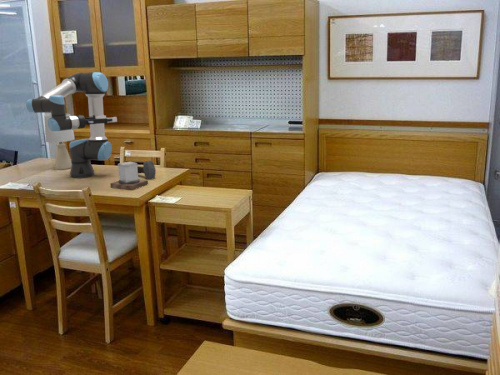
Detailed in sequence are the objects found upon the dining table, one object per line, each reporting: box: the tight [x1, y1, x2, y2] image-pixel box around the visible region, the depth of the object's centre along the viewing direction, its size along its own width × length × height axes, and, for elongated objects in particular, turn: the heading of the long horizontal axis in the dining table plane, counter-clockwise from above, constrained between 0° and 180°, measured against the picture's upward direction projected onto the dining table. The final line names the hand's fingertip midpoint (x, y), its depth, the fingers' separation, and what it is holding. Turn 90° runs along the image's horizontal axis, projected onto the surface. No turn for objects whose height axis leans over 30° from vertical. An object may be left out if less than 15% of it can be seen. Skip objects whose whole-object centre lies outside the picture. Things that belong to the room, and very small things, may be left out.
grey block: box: [117, 161, 139, 183], centre depth 287 cm, size 8×8×10 cm
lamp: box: [43, 112, 76, 171], centre depth 339 cm, size 19×19×37 cm
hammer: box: [137, 160, 157, 180], centre depth 314 cm, size 5×11×30 cm
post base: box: [110, 178, 149, 191], centre depth 288 cm, size 14×16×9 cm
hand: (111, 118), depth 295 cm, fingers open, 13 cm apart
